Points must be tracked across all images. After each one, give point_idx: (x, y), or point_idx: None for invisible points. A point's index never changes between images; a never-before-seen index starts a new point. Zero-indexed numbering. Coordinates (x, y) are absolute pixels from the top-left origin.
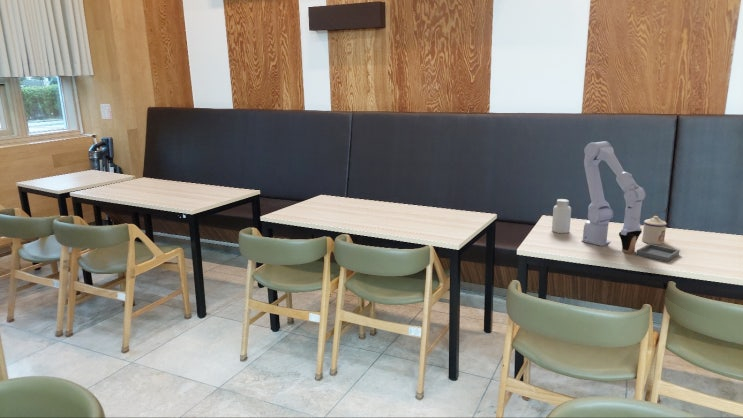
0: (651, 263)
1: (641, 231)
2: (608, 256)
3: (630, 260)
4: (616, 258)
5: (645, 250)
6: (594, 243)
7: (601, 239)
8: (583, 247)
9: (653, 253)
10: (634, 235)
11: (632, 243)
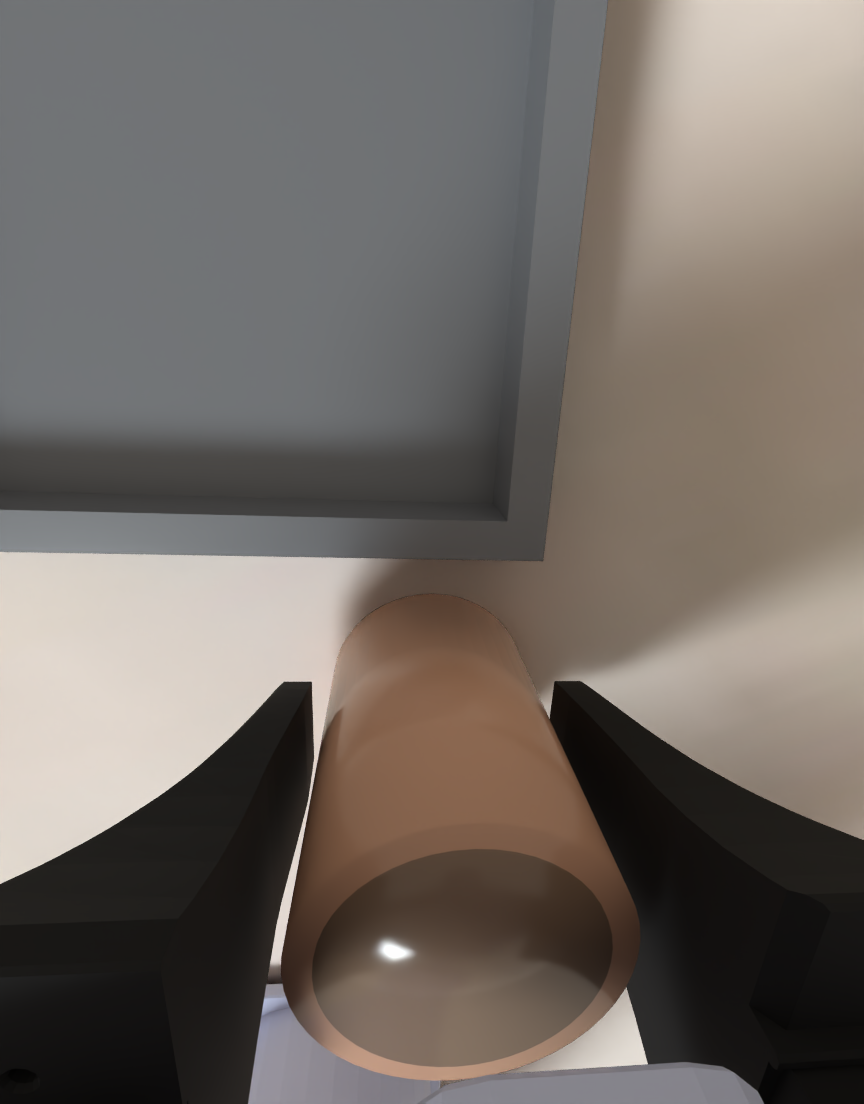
0: (834, 140)
1: (9, 955)
2: (819, 769)
3: (847, 496)
4: (853, 671)
5: (183, 492)
6: None
7: (397, 1097)
8: (631, 1054)
9: (248, 300)
10: (323, 910)
11: (535, 724)
